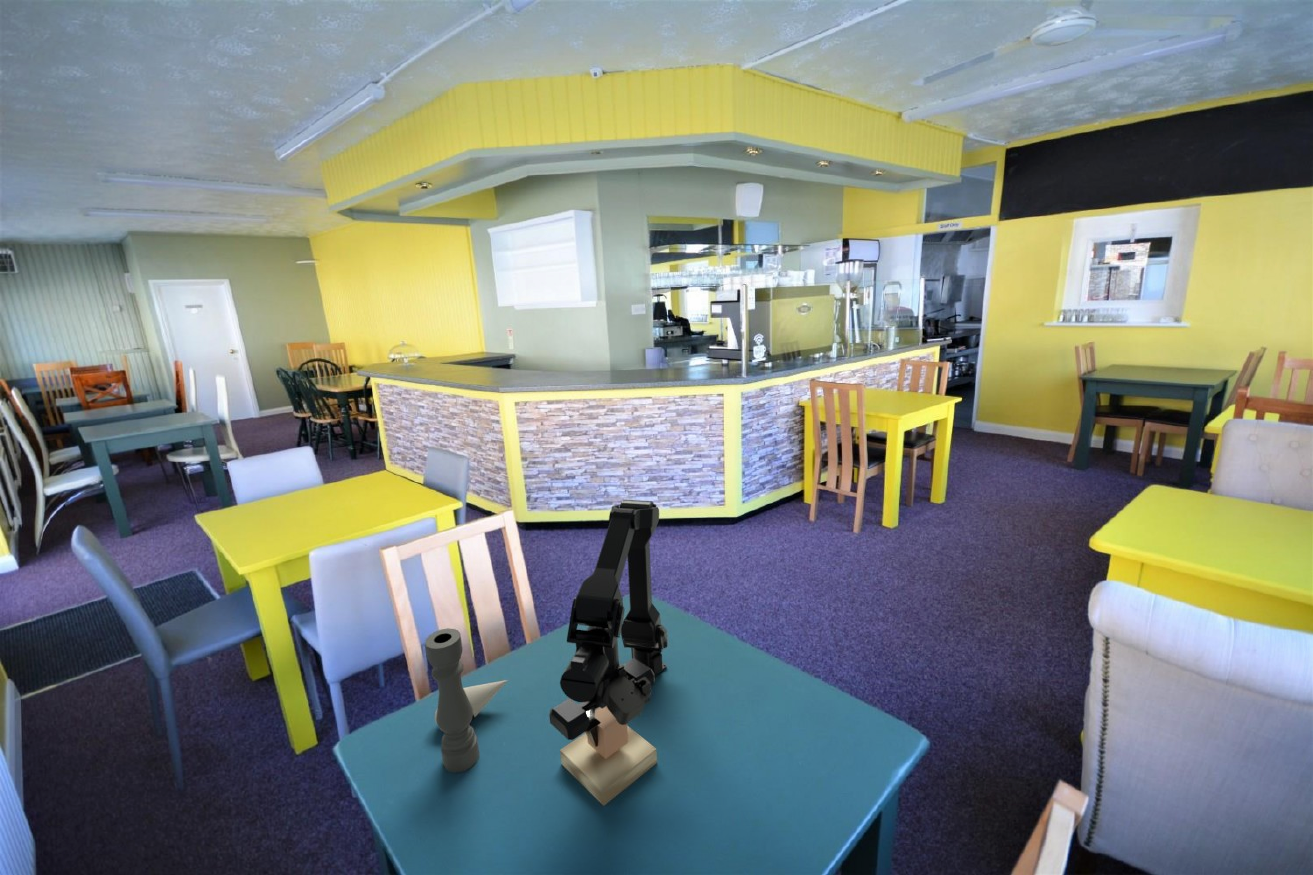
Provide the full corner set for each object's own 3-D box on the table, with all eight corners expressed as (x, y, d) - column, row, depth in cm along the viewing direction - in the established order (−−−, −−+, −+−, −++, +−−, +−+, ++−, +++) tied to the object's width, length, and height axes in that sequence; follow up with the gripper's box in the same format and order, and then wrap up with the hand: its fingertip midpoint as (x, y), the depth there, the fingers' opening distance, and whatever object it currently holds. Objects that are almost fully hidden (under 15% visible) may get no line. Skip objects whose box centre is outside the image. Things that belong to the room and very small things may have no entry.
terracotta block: (587, 742, 100) (585, 714, 99) (610, 727, 103) (608, 699, 102) (605, 759, 97) (603, 729, 95) (628, 742, 100) (626, 713, 98)
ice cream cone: (514, 697, 118) (442, 739, 111) (502, 670, 121) (430, 710, 114) (515, 689, 113) (440, 733, 106) (502, 662, 116) (427, 703, 109)
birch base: (561, 763, 102) (560, 749, 101) (613, 726, 109) (612, 713, 109) (603, 805, 93) (602, 791, 92) (657, 762, 101) (656, 748, 100)
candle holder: (486, 757, 104) (468, 636, 97) (454, 778, 99) (433, 654, 93) (468, 739, 108) (450, 623, 101) (437, 759, 103) (416, 639, 97)
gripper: (585, 713, 84) (592, 798, 88) (675, 654, 96) (677, 731, 100) (543, 678, 92) (552, 757, 96) (631, 628, 104) (635, 700, 108)
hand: (607, 736), depth 100 cm, fingers closed on terracotta block, 5 cm apart
